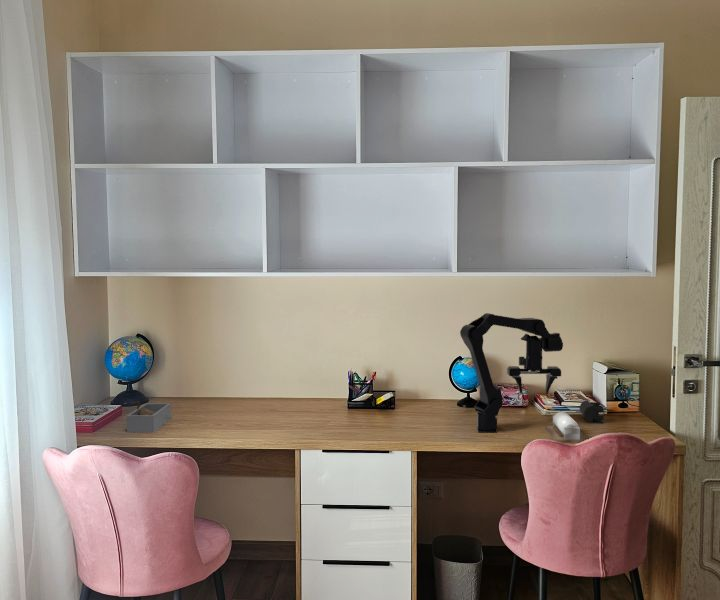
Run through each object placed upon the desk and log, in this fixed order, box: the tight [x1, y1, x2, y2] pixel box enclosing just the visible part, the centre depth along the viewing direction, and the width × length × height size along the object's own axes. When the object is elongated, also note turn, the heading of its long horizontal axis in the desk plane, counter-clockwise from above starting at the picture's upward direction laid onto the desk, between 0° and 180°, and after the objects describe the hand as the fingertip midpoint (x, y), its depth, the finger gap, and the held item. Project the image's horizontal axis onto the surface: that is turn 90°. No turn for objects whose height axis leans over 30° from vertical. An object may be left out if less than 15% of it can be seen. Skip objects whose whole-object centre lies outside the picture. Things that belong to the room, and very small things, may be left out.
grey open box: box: [128, 400, 165, 426], centre depth 264 cm, size 14×4×9 cm, turn 75°
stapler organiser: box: [125, 402, 172, 433], centre depth 264 cm, size 10×20×6 cm, turn 177°
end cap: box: [579, 400, 605, 424], centre depth 269 cm, size 10×7×7 cm
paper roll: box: [552, 411, 580, 434], centre depth 247 cm, size 6×12×6 cm, turn 177°
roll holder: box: [544, 414, 588, 444], centre depth 247 cm, size 11×18×5 cm, turn 177°
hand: (533, 394), depth 259 cm, fingers open, 9 cm apart
